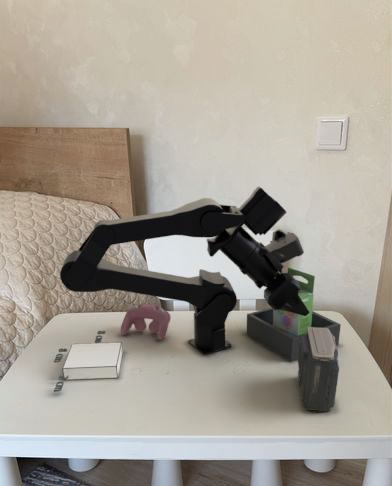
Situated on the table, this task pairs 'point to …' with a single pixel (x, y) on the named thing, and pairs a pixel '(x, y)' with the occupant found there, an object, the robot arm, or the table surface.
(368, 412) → the table surface
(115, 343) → the container
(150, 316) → the video game controller
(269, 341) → the bin
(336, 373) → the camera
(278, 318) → the ink box
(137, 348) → the table surface
